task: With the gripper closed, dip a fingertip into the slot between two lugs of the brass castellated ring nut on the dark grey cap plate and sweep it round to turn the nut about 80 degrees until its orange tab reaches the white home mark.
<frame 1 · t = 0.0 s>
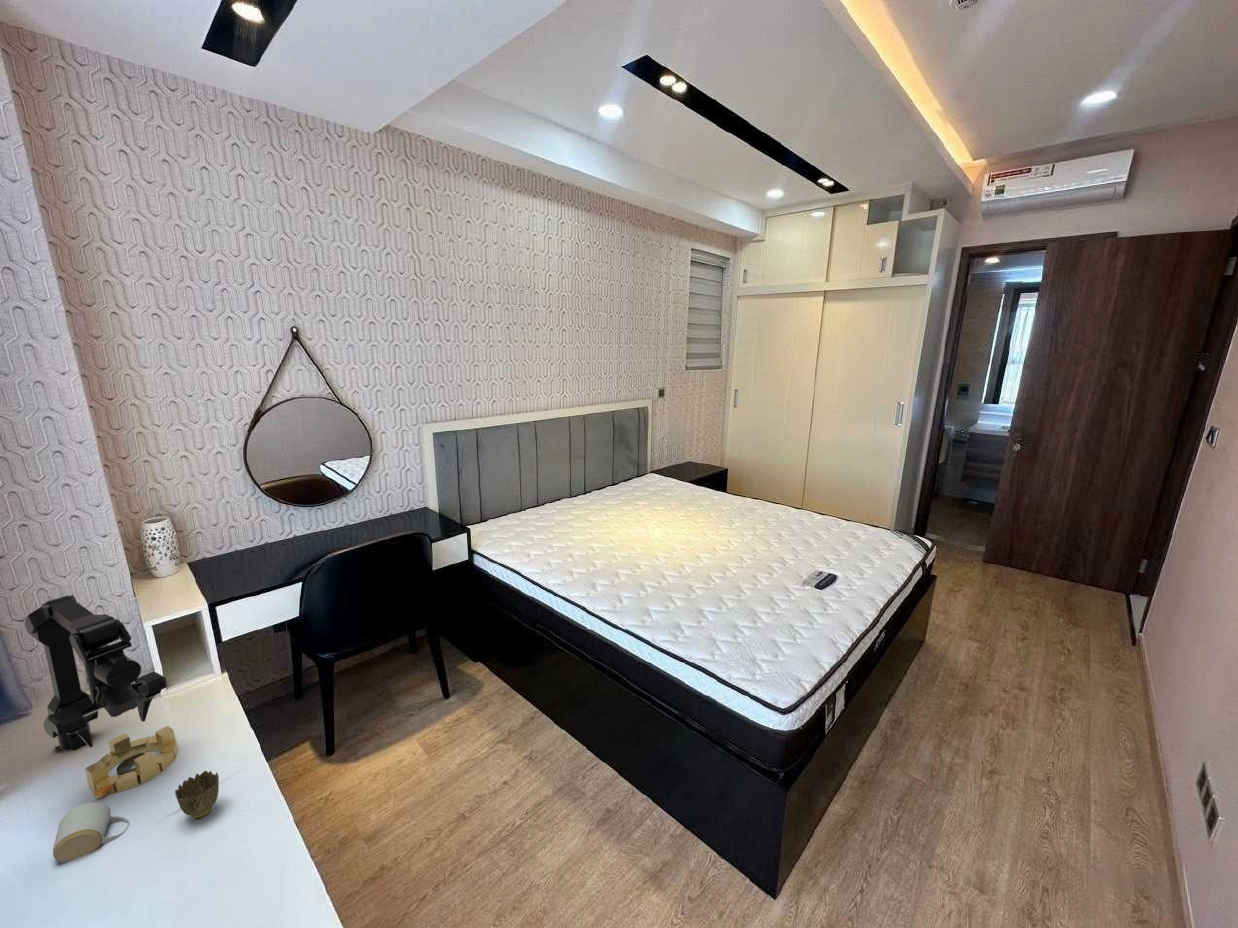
hand: (117, 733, 117), 15 cm above the table, fingers open, 9 cm apart
cup: (202, 814, 114), on the table
ceramic mug: (94, 844, 107), on the table
cap plate: (136, 771, 125), on the table
ring nut: (131, 758, 124), point 4 cm above the table, hinge at 0.0°
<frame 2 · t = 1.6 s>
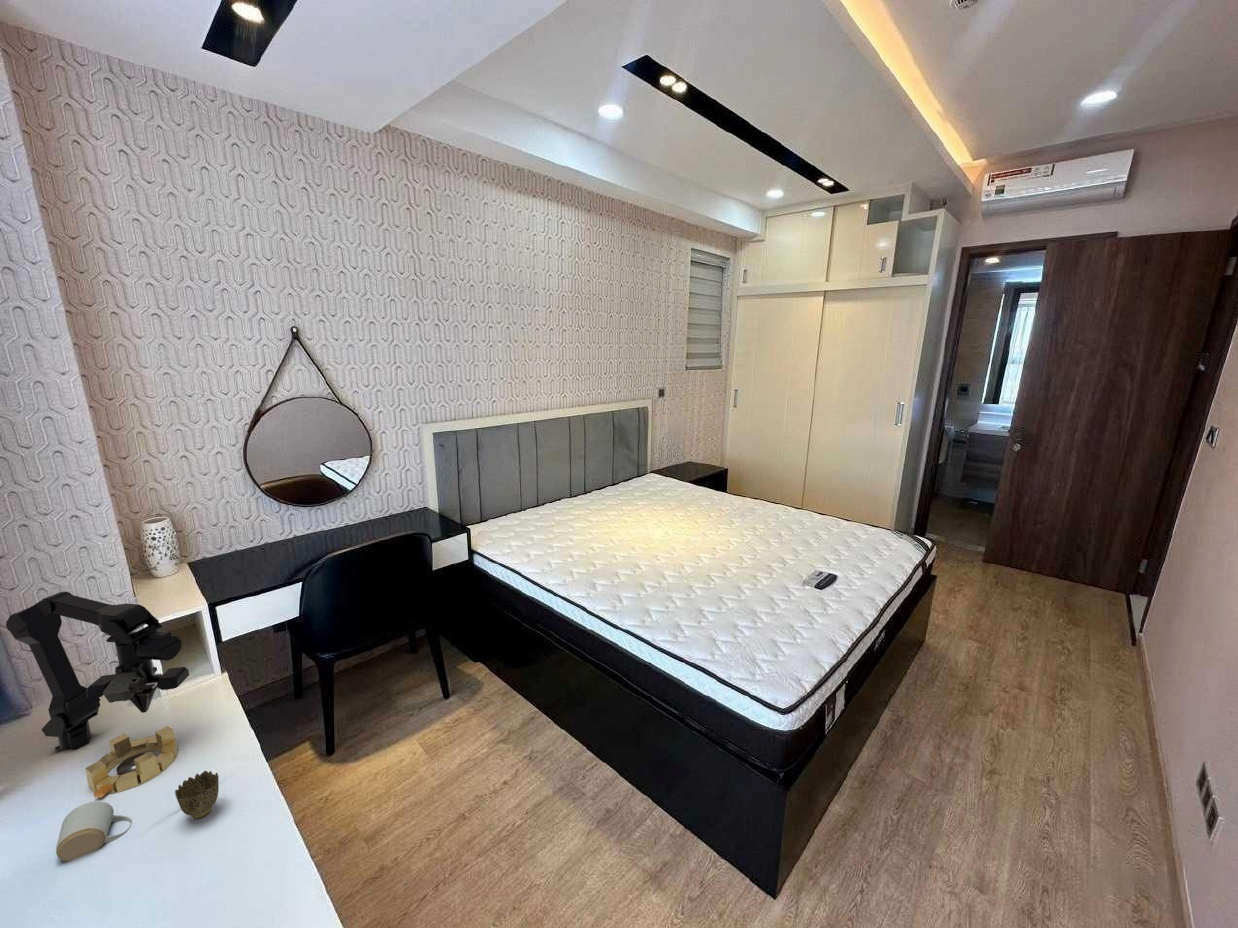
hand: (145, 711, 129), 12 cm above the table, fingers closed
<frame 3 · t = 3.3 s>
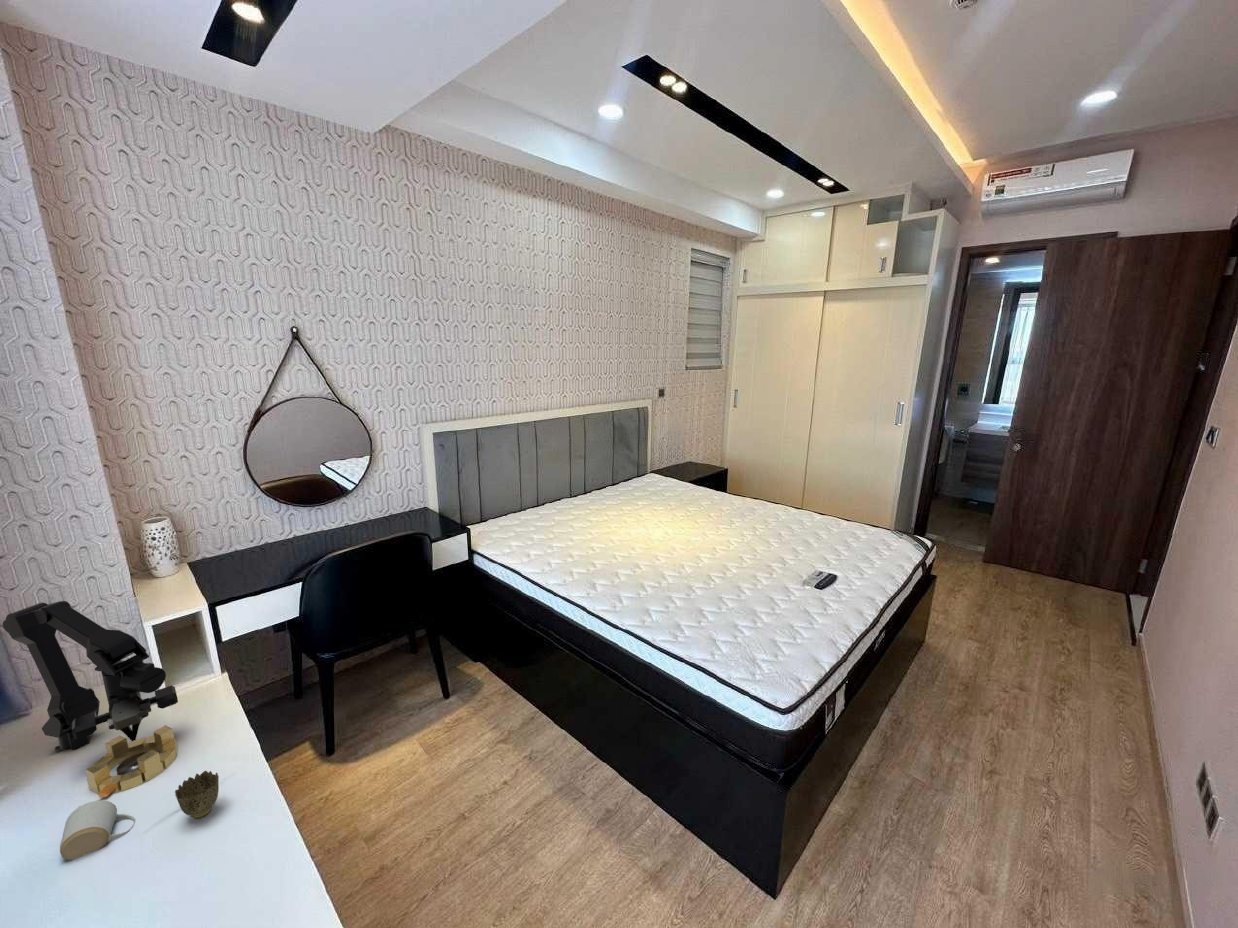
hand: (133, 740, 128), 5 cm above the table, fingers closed
ring nut: (131, 758, 124), point 4 cm above the table, hinge at 5.7°, touching gripper
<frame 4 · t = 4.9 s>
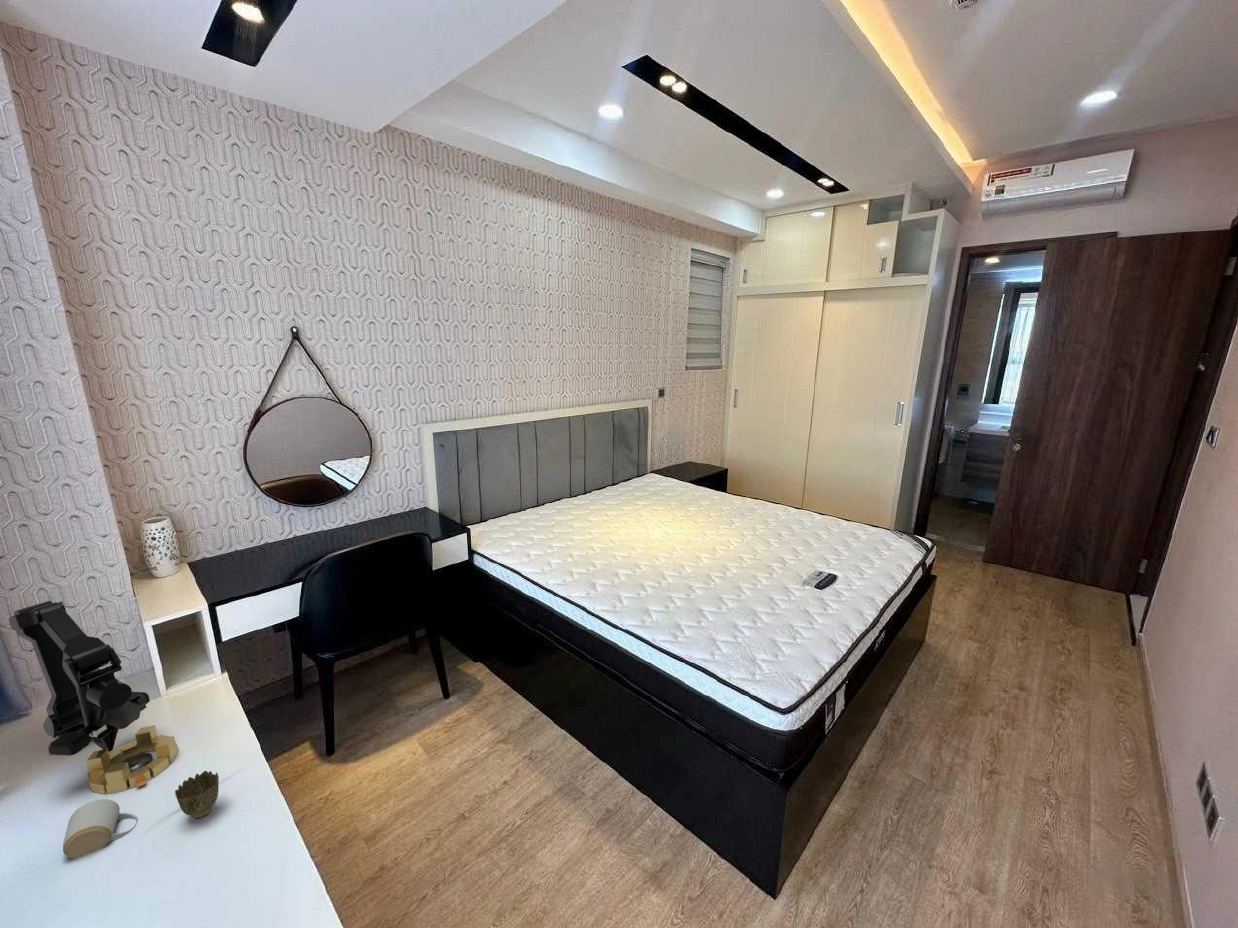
hand: (109, 751, 124), 5 cm above the table, fingers closed
ring nut: (132, 758, 124), point 4 cm above the table, hinge at 46.5°, touching gripper
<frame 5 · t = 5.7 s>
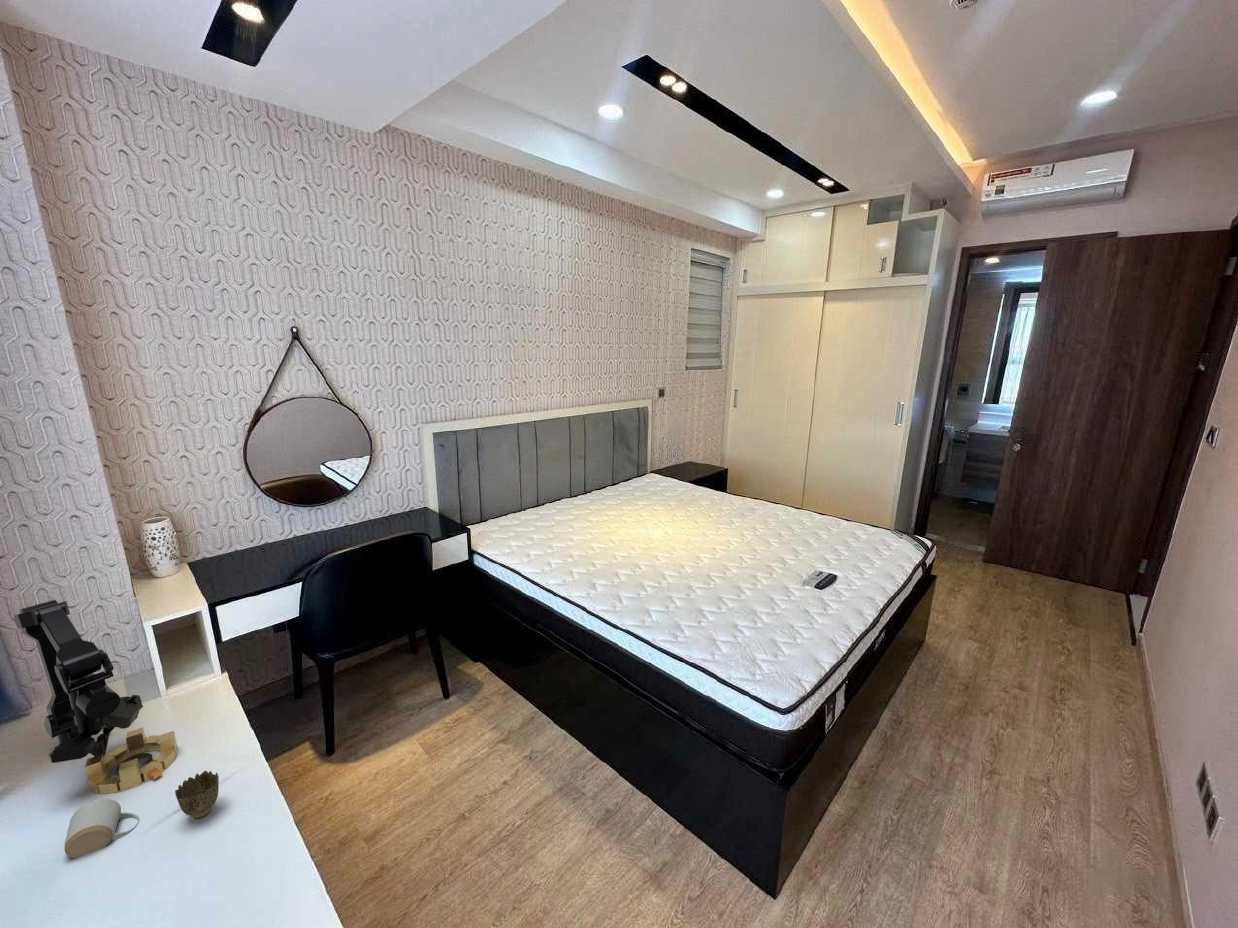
hand: (101, 757, 122), 5 cm above the table, fingers closed
ring nut: (133, 758, 124), point 4 cm above the table, hinge at 64.6°, touching gripper
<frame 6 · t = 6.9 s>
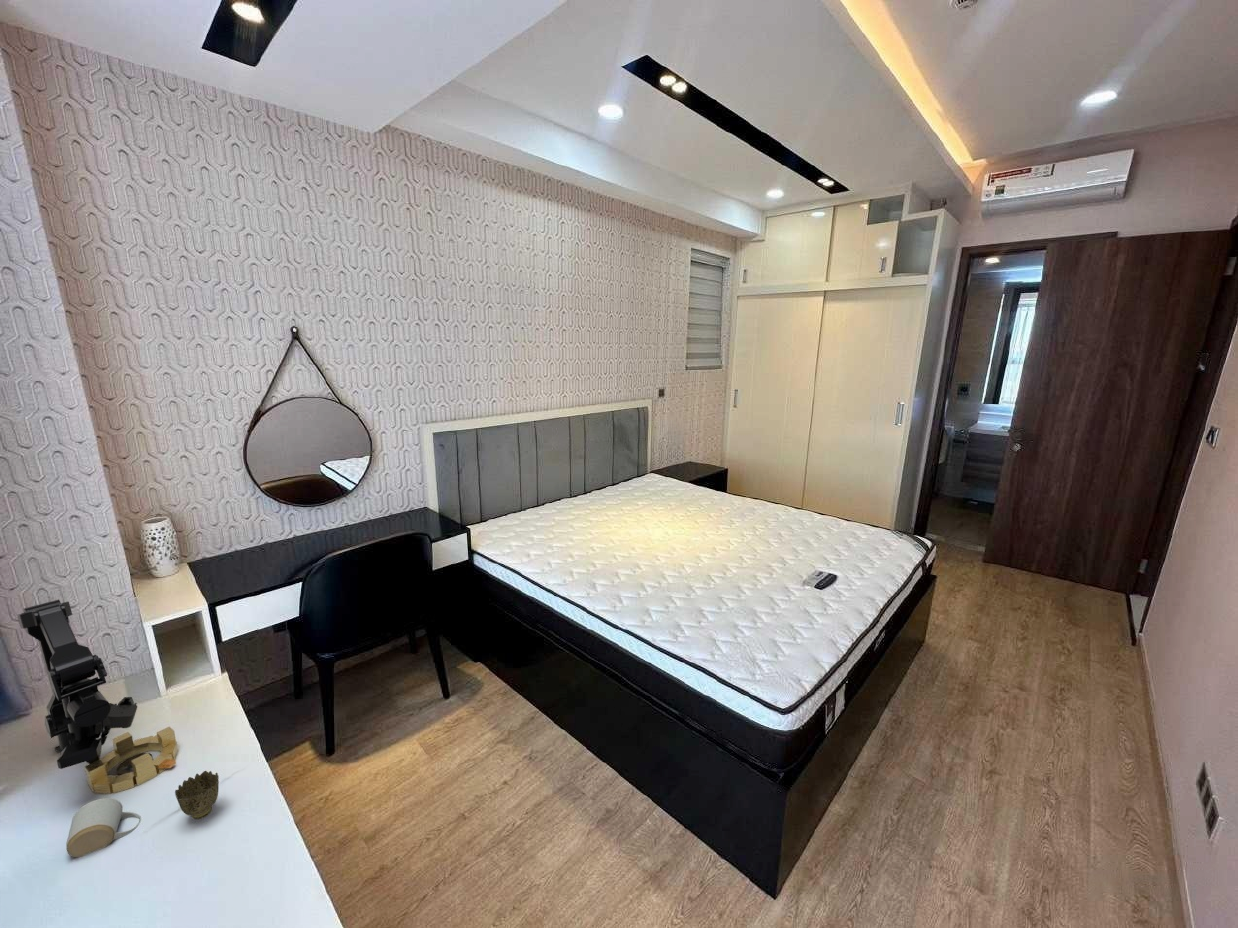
hand: (96, 764, 120), 5 cm above the table, fingers closed
ring nut: (134, 758, 124), point 4 cm above the table, hinge at 84.9°, touching gripper
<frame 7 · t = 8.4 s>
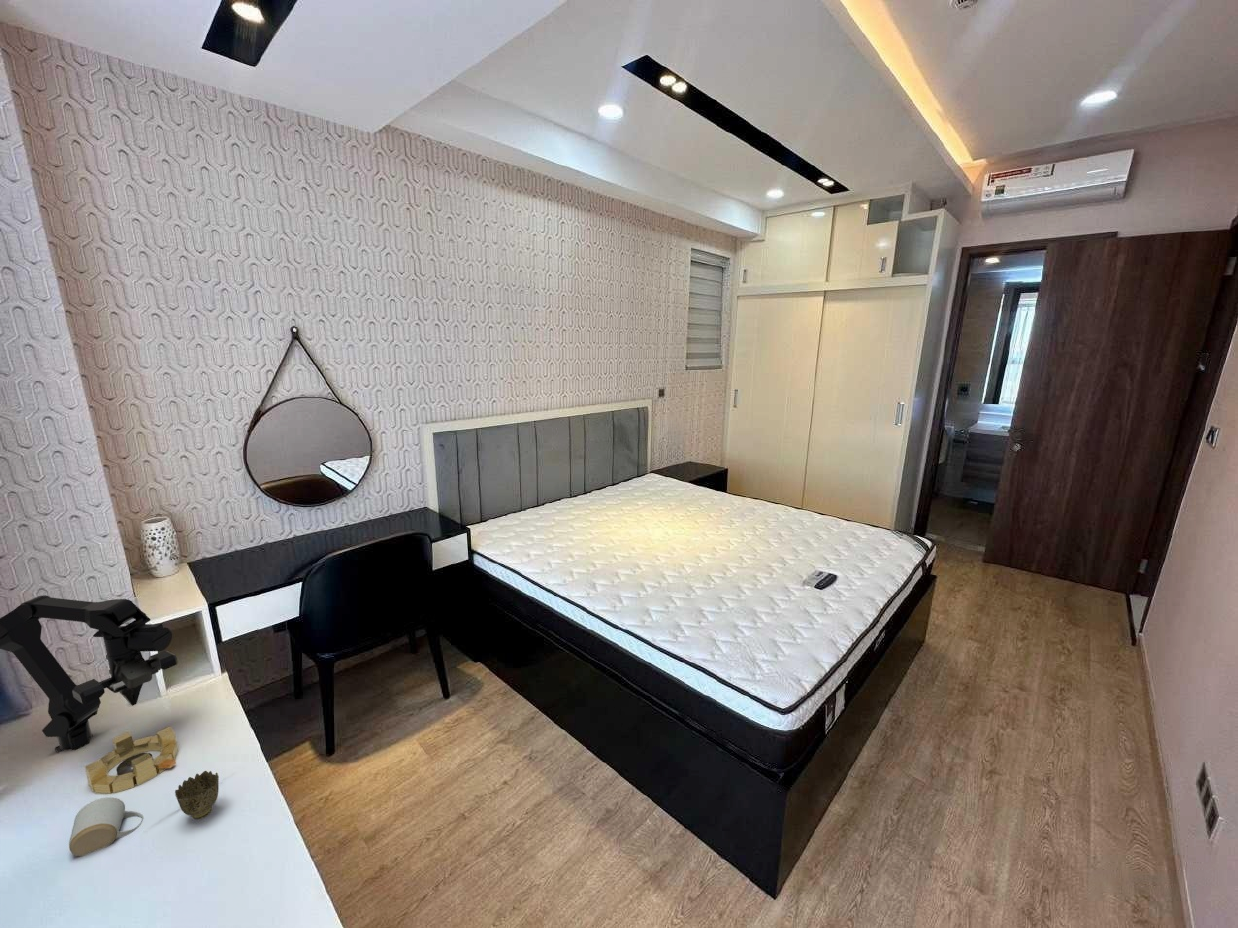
hand: (133, 704, 131), 12 cm above the table, fingers closed
ring nut: (134, 758, 124), point 4 cm above the table, hinge at 84.9°
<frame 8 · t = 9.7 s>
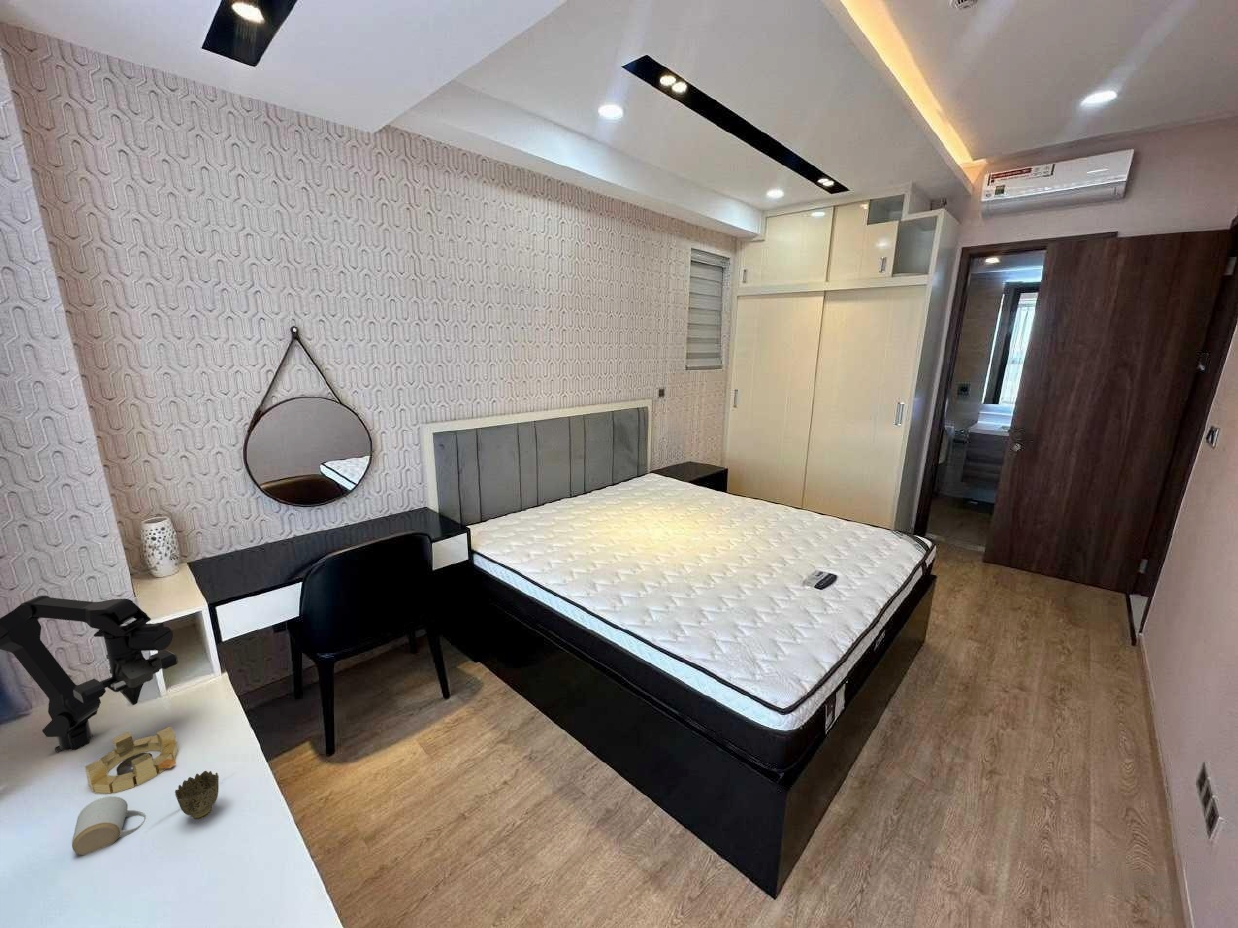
hand: (134, 704, 131), 12 cm above the table, fingers closed
at the end: ring nut at +85° (first picture: +0°) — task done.
